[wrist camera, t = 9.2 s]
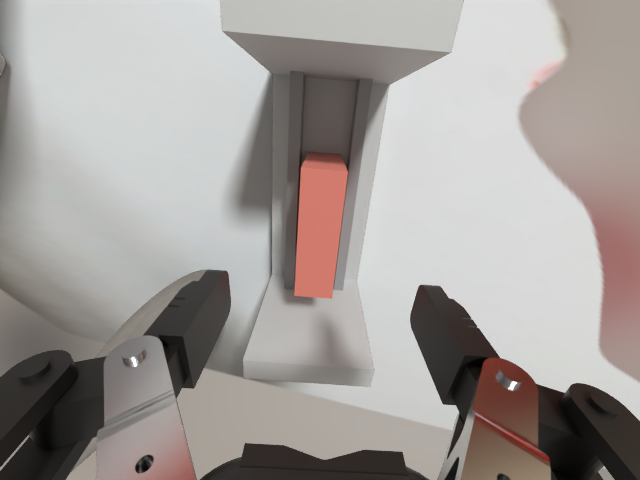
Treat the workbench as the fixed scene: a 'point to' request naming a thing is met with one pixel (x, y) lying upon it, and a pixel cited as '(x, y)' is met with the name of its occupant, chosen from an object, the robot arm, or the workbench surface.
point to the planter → (141, 328)
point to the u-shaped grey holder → (328, 137)
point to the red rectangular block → (319, 223)
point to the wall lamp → (2, 64)
